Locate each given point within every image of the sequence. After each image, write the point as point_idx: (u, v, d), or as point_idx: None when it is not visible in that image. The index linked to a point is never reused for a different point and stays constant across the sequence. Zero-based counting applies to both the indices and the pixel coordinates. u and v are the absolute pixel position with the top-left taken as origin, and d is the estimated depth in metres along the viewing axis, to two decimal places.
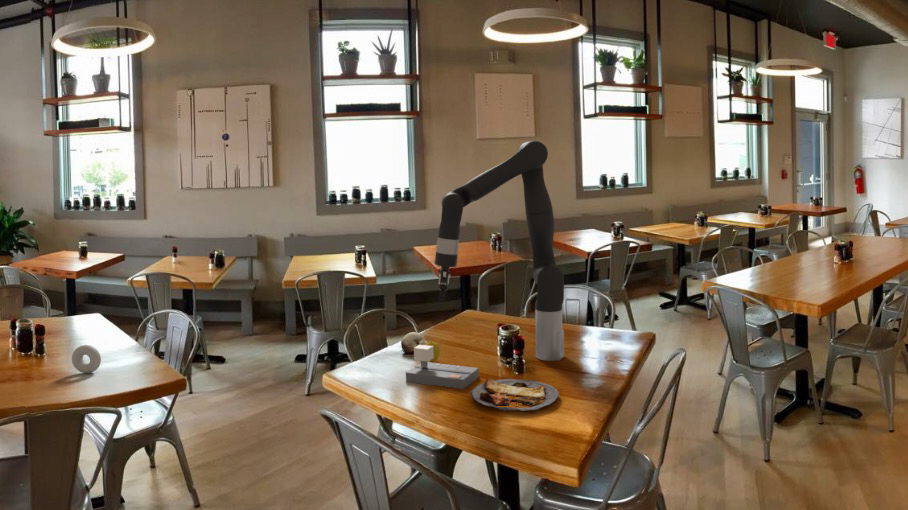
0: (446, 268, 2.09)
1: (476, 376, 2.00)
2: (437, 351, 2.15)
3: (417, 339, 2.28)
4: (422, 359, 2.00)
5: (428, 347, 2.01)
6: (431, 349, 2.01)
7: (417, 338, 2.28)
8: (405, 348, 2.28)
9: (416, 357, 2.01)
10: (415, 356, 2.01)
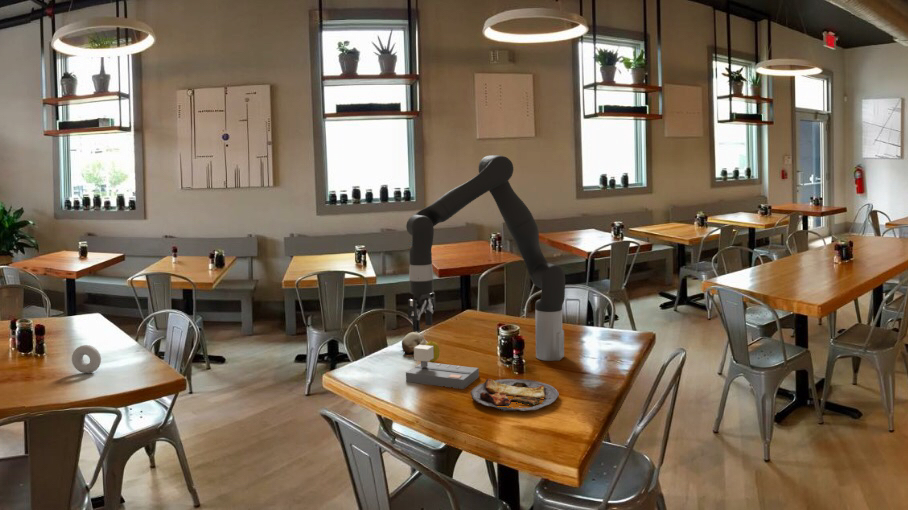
0: (417, 296, 1.96)
1: (476, 376, 2.00)
2: (437, 351, 2.15)
3: (418, 339, 2.28)
4: (422, 359, 2.00)
5: (428, 347, 2.01)
6: (431, 349, 2.01)
7: (418, 338, 2.28)
8: (406, 348, 2.28)
9: (416, 357, 2.01)
10: (415, 356, 2.01)
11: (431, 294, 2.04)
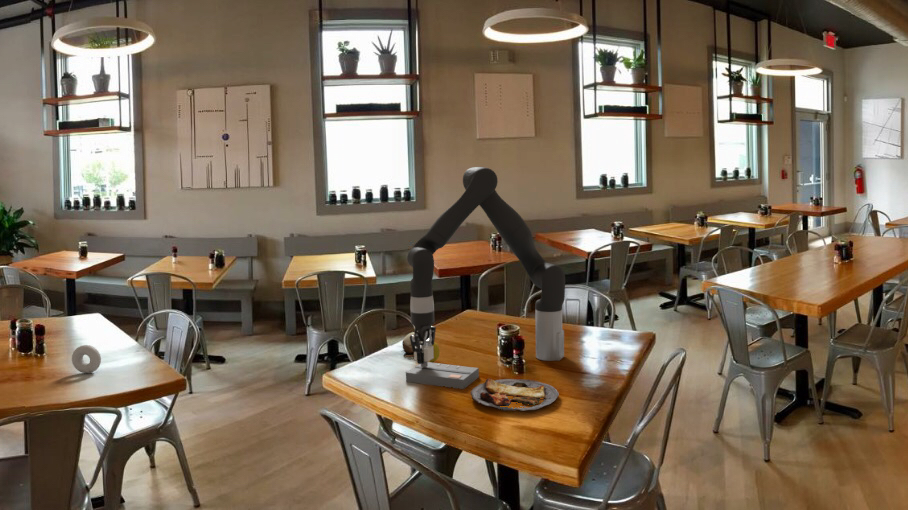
0: (418, 328, 1.97)
1: (476, 376, 2.00)
2: (437, 351, 2.15)
3: None
4: None
5: (428, 347, 2.01)
6: (431, 349, 2.01)
7: None
8: (406, 348, 2.28)
9: (416, 357, 2.01)
10: (415, 356, 2.01)
11: (432, 327, 2.06)
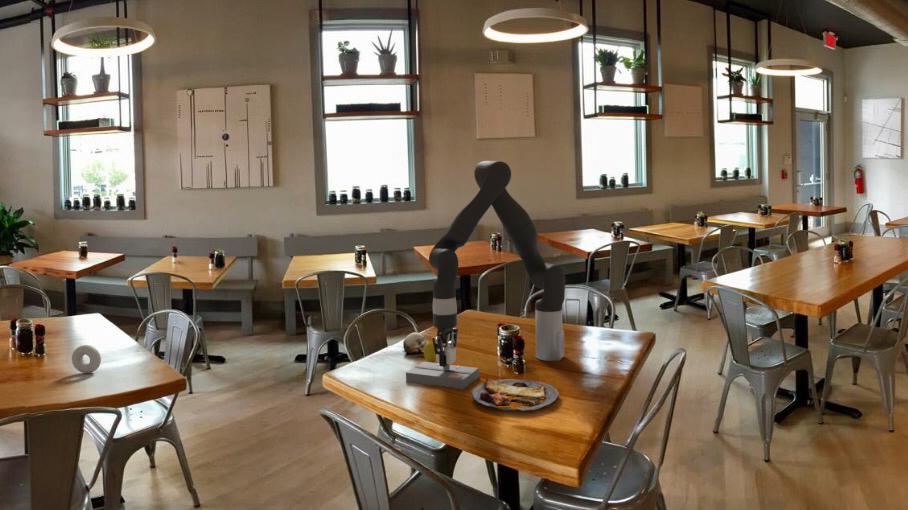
0: (441, 330, 1.94)
1: (476, 376, 2.00)
2: None
3: (419, 339, 2.28)
4: None
5: (450, 349, 1.98)
6: (453, 351, 1.98)
7: (420, 338, 2.28)
8: (407, 348, 2.27)
9: (438, 359, 1.98)
10: (437, 359, 1.98)
11: (454, 329, 2.02)
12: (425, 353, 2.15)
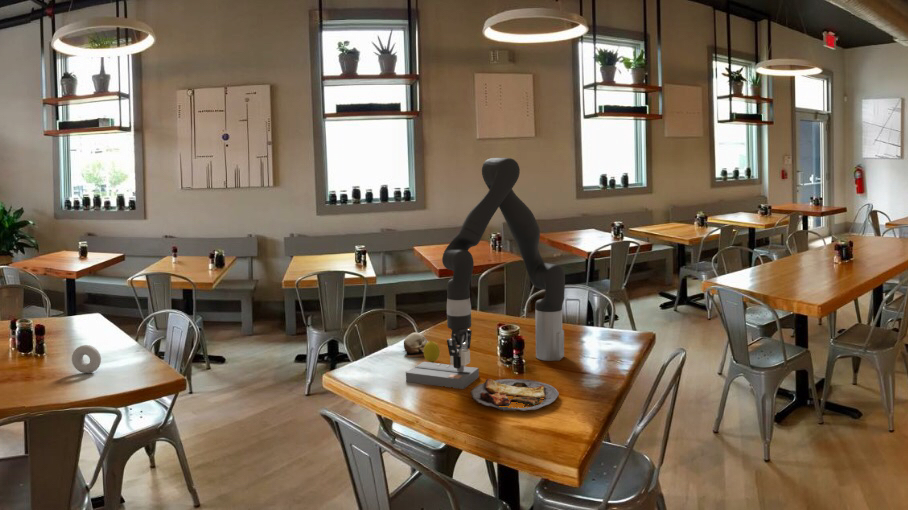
0: (455, 331, 1.92)
1: (476, 376, 2.00)
2: (437, 351, 2.15)
3: (420, 339, 2.28)
4: None
5: (465, 351, 1.95)
6: (468, 353, 1.96)
7: (420, 338, 2.28)
8: (408, 349, 2.27)
9: (452, 361, 1.95)
10: (451, 360, 1.96)
11: (468, 330, 2.00)
12: (425, 353, 2.15)
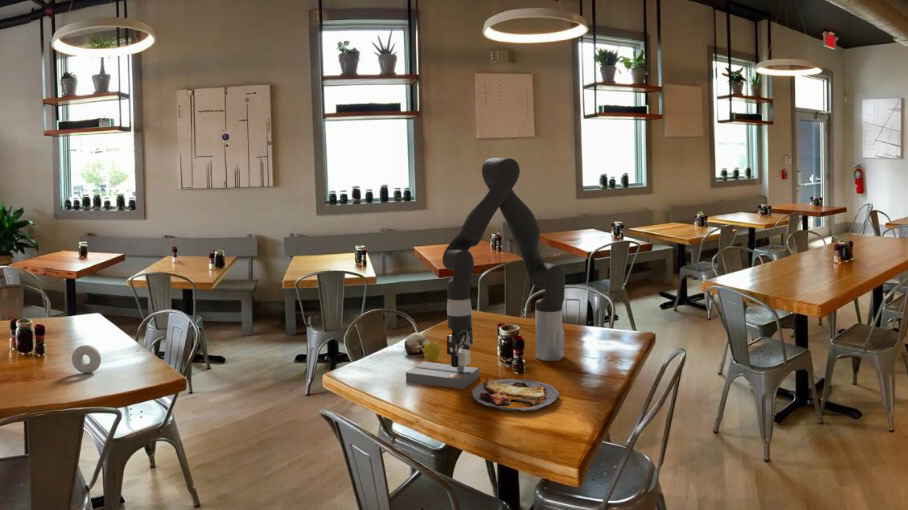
0: (455, 331, 1.92)
1: (476, 376, 2.00)
2: (437, 351, 2.15)
3: (420, 340, 2.27)
4: (459, 363, 1.95)
5: (465, 351, 1.95)
6: (468, 353, 1.96)
7: (421, 339, 2.27)
8: (408, 349, 2.27)
9: None
10: None
11: (468, 328, 2.00)
12: (425, 353, 2.15)
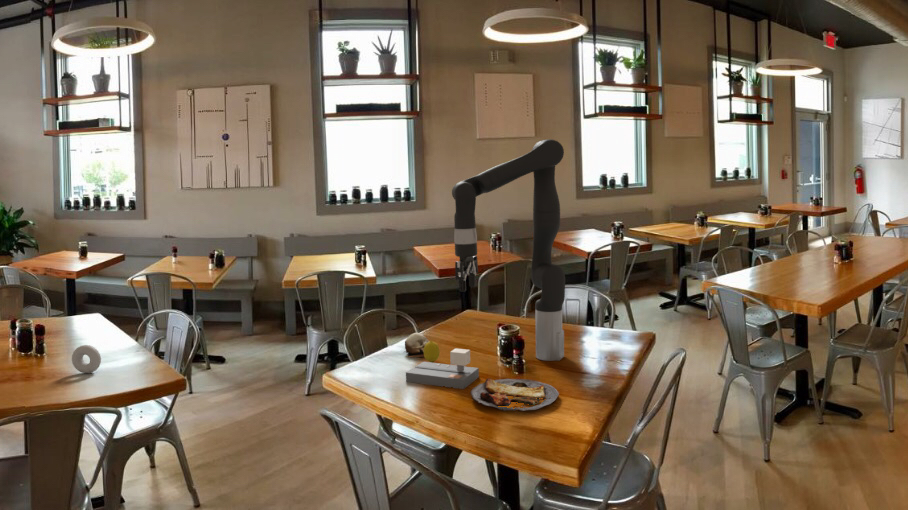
0: (463, 258, 2.08)
1: (476, 376, 2.00)
2: (437, 351, 2.15)
3: (421, 340, 2.27)
4: (459, 363, 1.95)
5: (465, 351, 1.95)
6: (468, 353, 1.96)
7: (421, 339, 2.27)
8: (409, 349, 2.27)
9: (452, 361, 1.95)
10: (451, 360, 1.96)
11: (474, 257, 2.16)
12: (425, 353, 2.15)
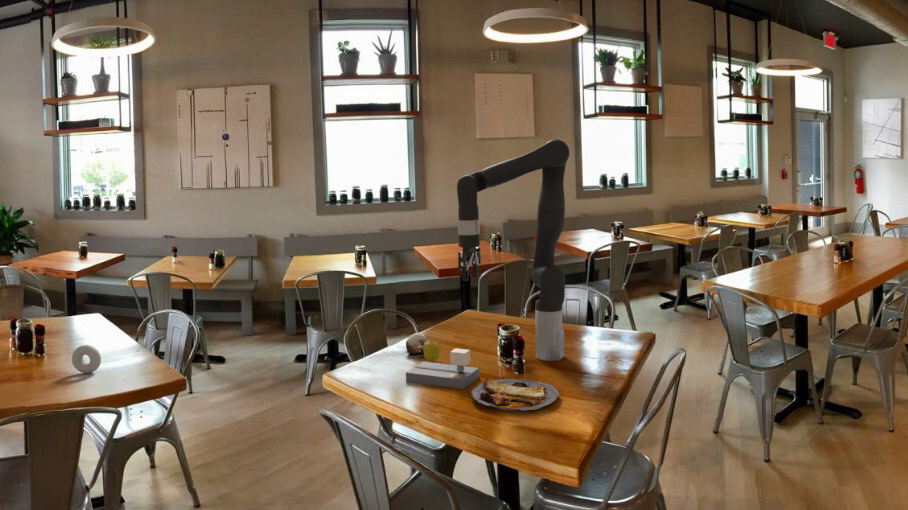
0: (466, 249, 2.15)
1: (476, 376, 2.00)
2: (437, 351, 2.15)
3: (422, 340, 2.27)
4: (459, 363, 1.95)
5: (465, 351, 1.95)
6: (468, 353, 1.96)
7: (422, 339, 2.27)
8: (410, 349, 2.26)
9: (452, 361, 1.95)
10: (451, 360, 1.96)
11: (477, 248, 2.24)
12: (425, 353, 2.15)
